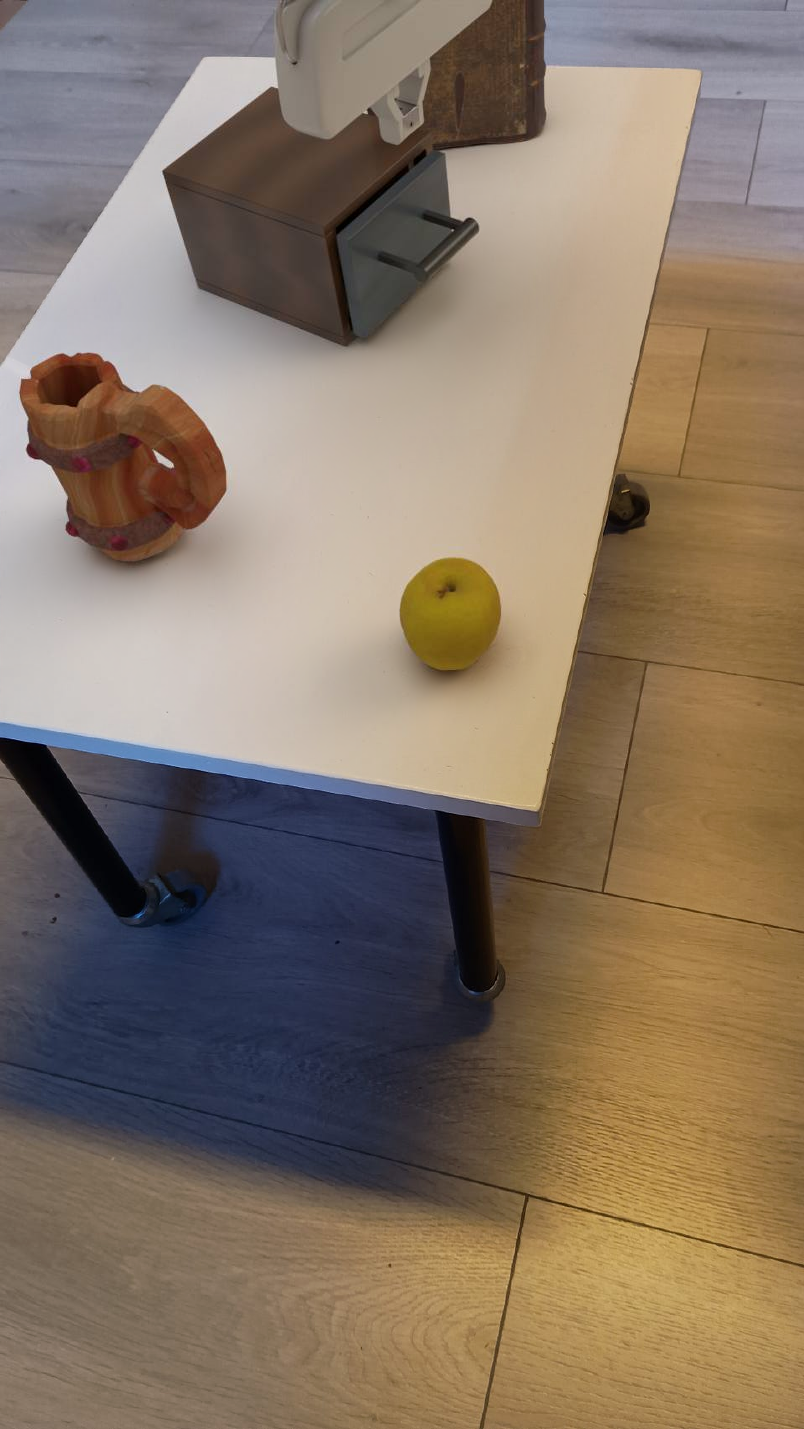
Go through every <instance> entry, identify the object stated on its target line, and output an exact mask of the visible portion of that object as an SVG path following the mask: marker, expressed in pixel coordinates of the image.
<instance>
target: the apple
mask: <svg viewBox="0 0 804 1429" xmlns="http://www.w3.org/2000/svg"><path fill="white" fill-rule="evenodd" d="M501 617H502V603H501V597H500V592H499V590H498V587H497V585H496V583H495V582H494V580H493V578H492V576H491V575H490V574H489V573H488V572H487V571H486V570H485V568H483V567H482V566H481V565H480V564H479V563H478V562H475V561H473V560H471V559H467V558H464V557H455V556H454V557H444V558H440V559H436V560H435V561H432V562H430V563H429V564H428V565H425V566H424V567H423V568H422V569H420V571H419V572H417V573H416V574H415V575H414V576H413V577H412V579H410V581H408V583H407V584H406V586H405V588H404V590H403V593H402V595H401V599H400V604H399V622H400V626H401V629H402V631H403V634H404V637H405V640H406V642H407V644H408V646H409V647H410V649H411V651H412V652H413V653H414V655H416V656H417V657H418V658H419V659H420V660H421V661H422V662H423V663H424V664H426V665H427V666H429V667H430V668H433V669H436V670H439V671H454V670H455V671H457V670H458V671H461V670H465V669H467V668H469V667H470V666H472V665H473V664H474V663H475V662H476V661H477V660H478V659H479V658H480V657H482V656H483V654H484V653H485V652H486V651H487V650H488V649H489V647H490V646H491V645H492V643H493V642H494V640H495V637H496V636H497V633H498V630H499V626H500V623H501Z"/></svg>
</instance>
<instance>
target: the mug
mask: <svg viewBox="0 0 804 1429" xmlns="http://www.w3.org/2000/svg"><path fill="white" fill-rule="evenodd" d="M29 374H30V378H21V379H20V386H19V392H18V393H19V401H20V404H21V406H22V408H23V410H24V413H25V414H26V416H27V422H26V424H27V426H26V431H27V438H28V443H27V445H26V447H25V452H26V454H27V456H28V458H31V459H33V460H36V461H37V460H38V461H42V462H44V463H45V464H46V465H48V466H50V467H51V469H52V471H53V472H54V475H55V476H56V478H57V480H58V482H59V483H60V485H61V487H62V489H63V490H64V492H65V494H66V496H67V498H66V506H65V511H66V514H67V518H68V521H67V522H66V524H65V532H66V533H67V534H68V535H69V536H71V537H74V538H79V539H81V540H82V541H83V542H85V543H87V544H88V545H90V546H91V547H95V548H97V549H98V550H100V552H103V553H104V554H105V555H106V556H108V557H109V558H111V559H113V560H114V561H115V560H116V561H122V562H138V561H143V560H145V559H148V558H150V557H152V556H155V555H159V554H160V553H162V552H164V551H166V550H168V549H170V548H171V547H172V546H173V544H175V543H176V542H177V541H178V540H179V539H180V537H181V535H182V533H183V531H184V530H185V531H189V530H193V529H196V528H197V527H199V526H201V525H202V524H203V523H204V522H206V520H207V519H208V518H209V517H210V515H211V514H212V513H213V511H214V510H215V509H216V507H217V506H218V504H219V503H220V502H221V500H222V498H223V497H224V496H225V494H226V493H227V490H228V489H227V485H228V484H227V469H226V465H225V460H224V456H223V454H222V451H221V449H220V448H219V446H218V445H217V442H216V440H215V438H214V436H213V434H212V433H211V431H210V430H209V428H208V426H207V425H206V423H205V422H204V420H202V418H200V416H199V415H198V414H197V412H195V411H194V410H193V408H192V407H191V406H190V405H189V404H188V403H187V402H186V401H185V400H184V399H183V398H182V397H181V396H180V395H179V394H177V393H176V392H174V391H173V390H171V389H170V388H168V387H167V386H164V385H160V384H151V385H149V386H148V387H147V388H145V389H144V390H142V391H141V392H140V391H137V390H136V391H134V390H133V389H131V388H130V387H129V386H127V385H126V384H124V383H123V381H122V379H121V377H120V374H119V372H118V371H117V368H116V366H115V365H114V364H113V363H112V362H110V361H109V360H104V359H103V356H101V355H100V354H98V353H94V352H84V353H82V352H76V353H75V354H74V355H73V356H70V355H68V354H66V353H64V352H61V353H57V354H55V355H52V356H50V357H49V358H46V359H45V360H43V361H41V362H39V363H37V364H36V365H34V366H32V367H31V369H30V371H29ZM155 452H156V453H157V454H159V455H160V456H162V457H163V458H165V459H166V460H168V461H169V462H170V463H172V465H173V467H169V466H167V465H165V464H164V463H162V462H159V460H158V458H157V456H156V453H155Z"/></svg>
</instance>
